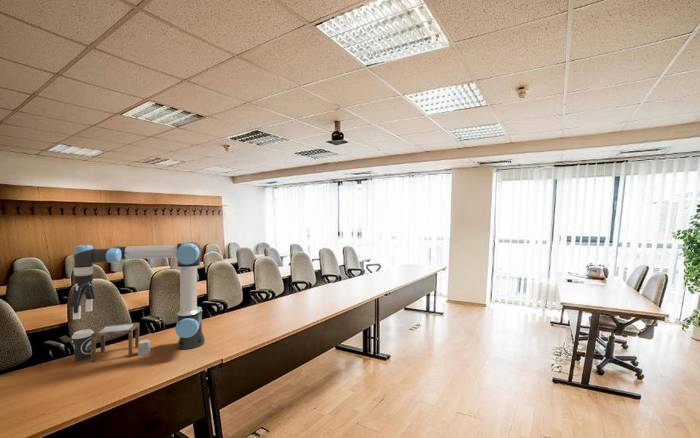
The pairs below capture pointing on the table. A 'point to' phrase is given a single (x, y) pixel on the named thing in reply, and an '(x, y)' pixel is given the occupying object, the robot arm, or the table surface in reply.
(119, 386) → the table surface
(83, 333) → the coffee cup
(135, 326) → the hatch frame
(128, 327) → the hatch
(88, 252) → the robot arm
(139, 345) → the stone
